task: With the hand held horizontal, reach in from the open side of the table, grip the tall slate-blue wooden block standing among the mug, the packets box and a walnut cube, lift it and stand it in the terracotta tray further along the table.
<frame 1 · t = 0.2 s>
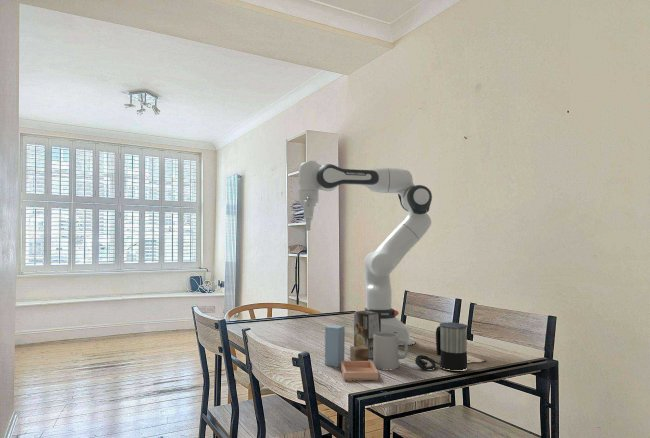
hand: (308, 229, 193), 48 cm above the table, tool pointing down, fingers open, 8 cm apart
mug: (390, 367, 152), on the table
walnut cube: (359, 361, 159), on the table
coffee box: (367, 355, 168), on the table
slate block: (334, 364, 154), on the table
tray: (358, 374, 143), on the table
milk frother: (441, 369, 151), on the table
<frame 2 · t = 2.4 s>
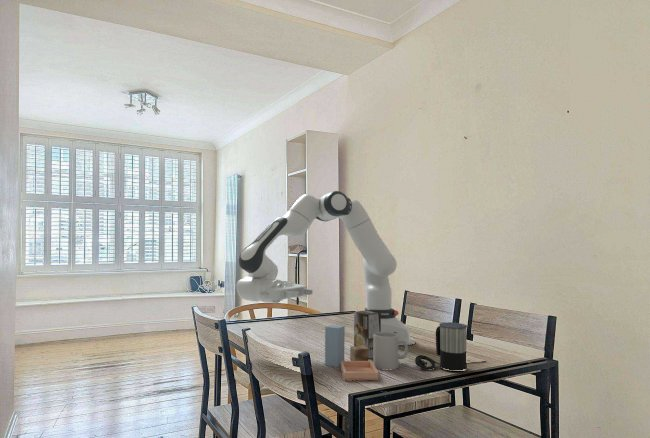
hand: (305, 293, 162), 24 cm above the table, tool horizontal, fingers open, 8 cm apart
nothing on the table moved.
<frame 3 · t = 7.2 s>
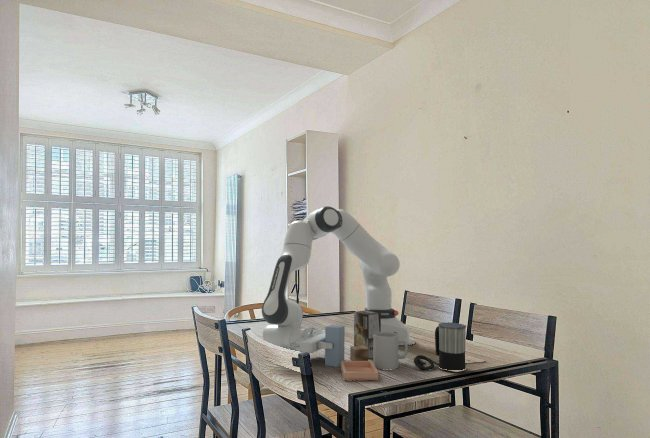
hand: (337, 344, 155), 7 cm above the table, tool horizontal, fingers closed on slate block, 5 cm apart
slate block: (334, 364, 154), on the table, touching gripper
everything else where it was.
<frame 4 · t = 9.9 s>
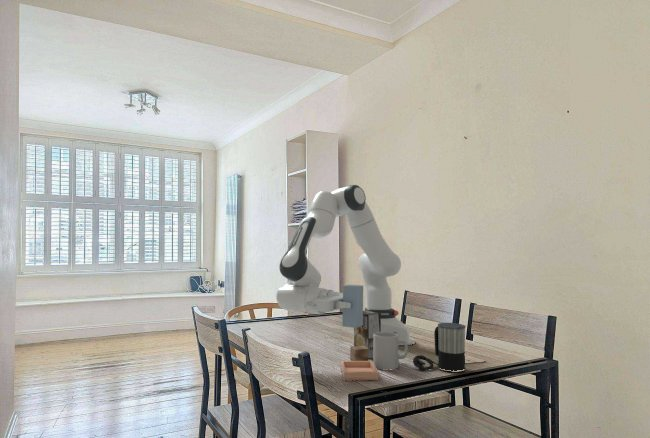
hand: (355, 304, 146), 22 cm above the table, tool horizontal, fingers closed on slate block, 5 cm apart
slate block: (352, 325, 146), point 15 cm above the table, touching gripper
when the fingers open (9 cm above the table, at t = 13.1 s): slate block drops 1 cm, resting on tray.
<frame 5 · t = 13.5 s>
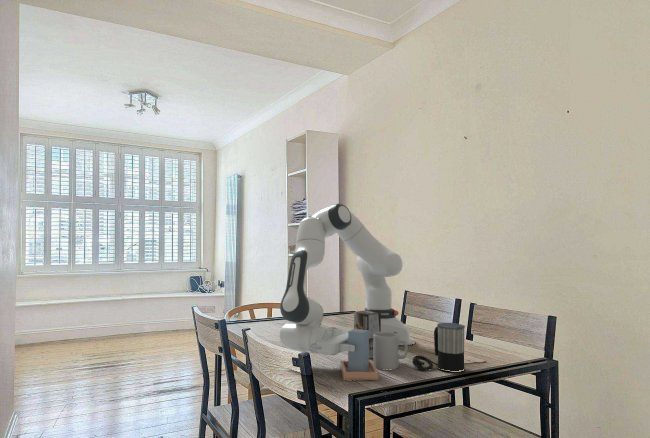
hand: (361, 345, 143), 9 cm above the table, tool horizontal, fingers open, 8 cm apart
slate block: (358, 371, 143), point 1 cm above the table, touching tray
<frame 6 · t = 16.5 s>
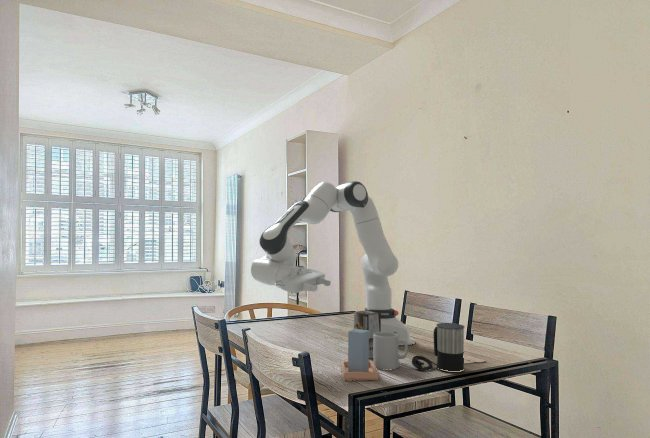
hand: (323, 286, 153), 27 cm above the table, tool horizontal, fingers open, 8 cm apart
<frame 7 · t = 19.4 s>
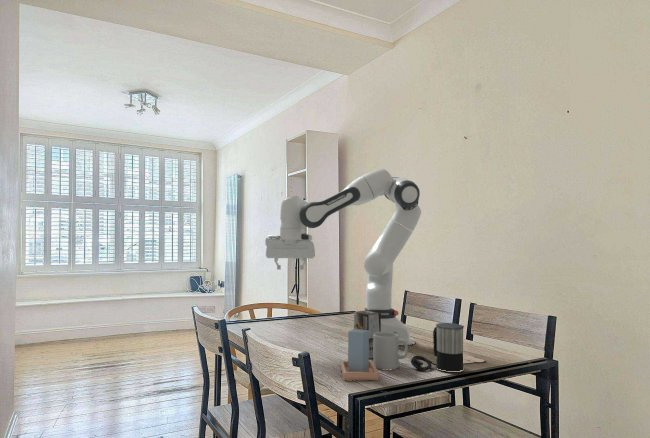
hand: (290, 269, 183), 31 cm above the table, tool pointing down, fingers open, 8 cm apart
at the end: slate block inside the target area on the tray (0.0 cm from its centre), point 0.8 cm above the tray's base; slate block tilted 0°; the gripper is holding nothing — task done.
